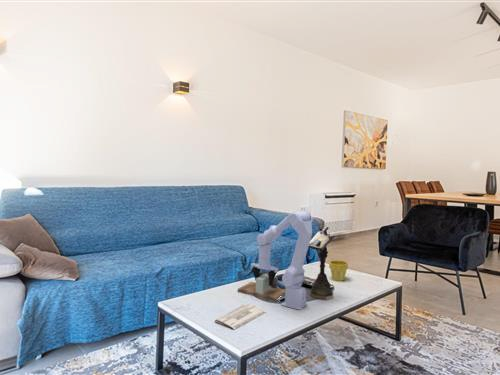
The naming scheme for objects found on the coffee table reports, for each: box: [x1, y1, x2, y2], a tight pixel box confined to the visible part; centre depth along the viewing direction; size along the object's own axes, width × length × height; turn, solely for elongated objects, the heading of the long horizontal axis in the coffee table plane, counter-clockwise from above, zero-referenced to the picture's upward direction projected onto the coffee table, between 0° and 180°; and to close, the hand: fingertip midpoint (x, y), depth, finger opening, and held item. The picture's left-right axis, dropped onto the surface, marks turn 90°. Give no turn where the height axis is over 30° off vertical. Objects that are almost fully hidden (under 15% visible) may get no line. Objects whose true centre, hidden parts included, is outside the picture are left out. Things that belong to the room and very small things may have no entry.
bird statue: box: [308, 226, 336, 301], centre depth 176 cm, size 17×13×35 cm
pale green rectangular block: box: [255, 273, 271, 294], centre depth 180 cm, size 4×9×7 cm, turn 148°
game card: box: [259, 271, 270, 277], centre depth 195 cm, size 7×5×9 cm
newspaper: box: [214, 303, 267, 331], centre depth 153 cm, size 23×12×2 cm, turn 142°
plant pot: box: [328, 259, 349, 282], centre depth 204 cm, size 10×10×10 cm
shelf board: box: [237, 276, 285, 302], centre depth 182 cm, size 22×13×7 cm, turn 58°
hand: (263, 283), depth 180 cm, fingers open, 7 cm apart
